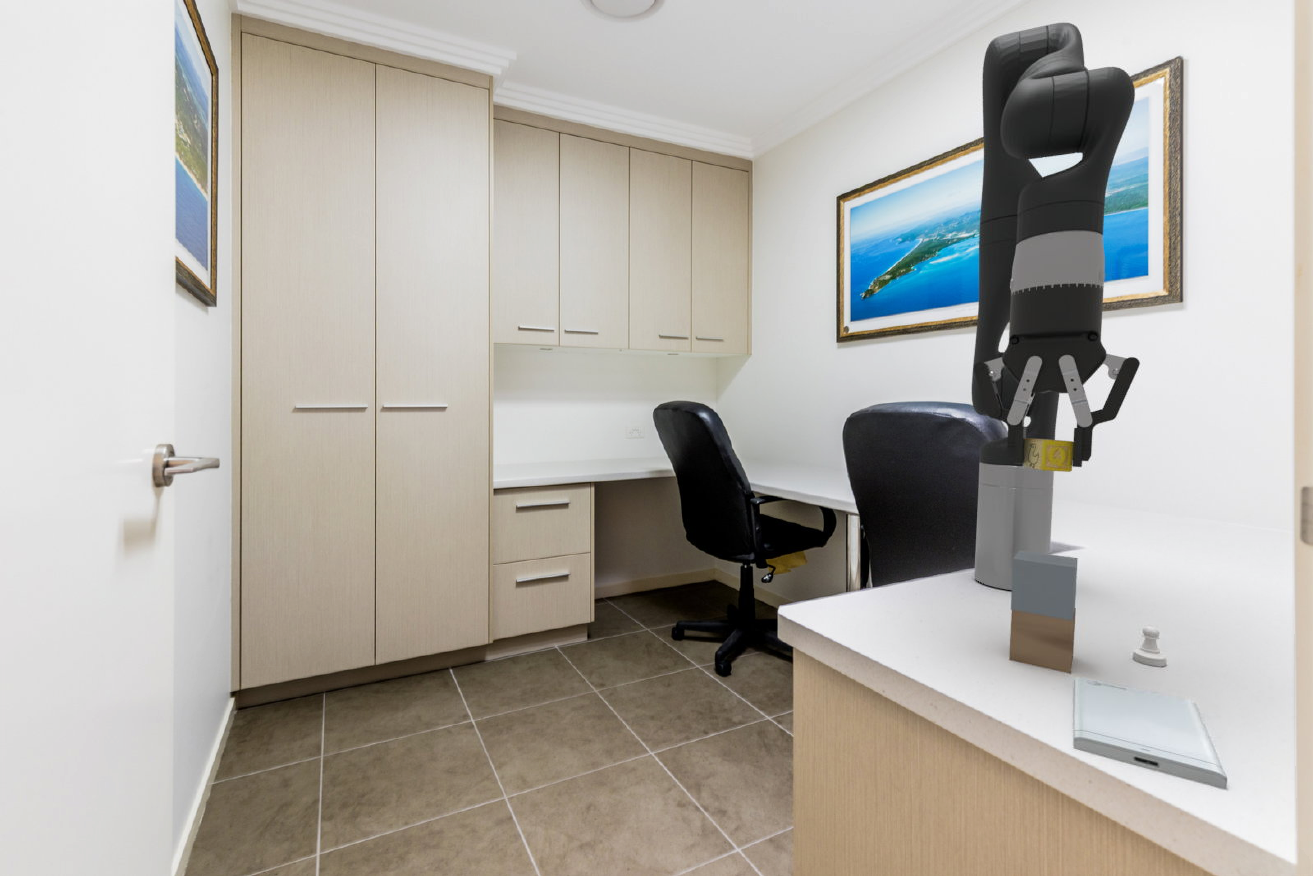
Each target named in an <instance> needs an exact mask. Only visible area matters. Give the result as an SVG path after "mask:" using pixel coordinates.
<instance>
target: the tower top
mask: <svg viewBox="0 0 1313 876" xmlns="http://www.w3.org/2000/svg"><path fill="white" fill-rule="evenodd" d="M1078 559H1079V558H1078V557H1072V556H1065V555H1057V554H1051V553H1050V554H1043V553H1035V552H1027V551H1020V550H1019V552H1018V553H1017V554H1016V556H1015V557H1014V558H1013V574H1012V590H1011V596H1010V597H1011V598H1010V610H1011V611H1012V610H1016V611H1022V612H1027V613H1032V614H1038V615H1043V616H1049V617H1054V618H1060V619H1065V620H1071V621H1073V616H1074V611H1075V608H1076V596H1077V595H1076V593H1077V579H1078V578H1077V577H1078V576H1077V574H1078Z"/></svg>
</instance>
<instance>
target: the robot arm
mask: <svg viewBox="0 0 1313 876" xmlns="http://www.w3.org/2000/svg"><path fill="white" fill-rule="evenodd" d="M1082 37H1083V36H1082V34H1081V31H1080V29H1079V28H1078V27H1077V26H1076V25H1075V24H1073V23H1071V22H1056V23H1051V24H1046V25H1042V26H1037V27H1032V28H1027V29H1024V30H1020V31H1014V32H1009V33H1006V34H1003V35H1000V36H997V37H995V38H994V39H992V40H991V41H990V42H989V43H988V45H987V47H986V51H985V53H984V58H983V67H982V87H981V88H982V124H983V125H982V126H983V127H982V128H983V170H982V171H983V173H982V188H981V189H982V191H981V203H980V216H979V235H978V237H979V238H978V280H979V281H978V310H977V323H976V333H975V344H974V355H973V364H972V377H971V402H972V403H971V404H972V406H973V409H974V411H975V413H977V414H978V415H979V416H985V417H989V418H990V419H995V420H998V421H1001V422H1002V423H1005V424H1006V426H1007V436H1005V437H1003V438H998V439H993V440H991V441H987V442H985V443H983V444H982V445H980V446H981V447H980V450H979V469H978V492H977V494H978V495H977V513H976V515H977V516H976V517H977V518H976V536H975V537H976V539H975V551H974V552H975V555H974V556H975V557H974V558H975V559H974V575H973V577H975V578H974V580H975V579H976V580H977V582H978V581H979V583H980V582H982V583H981V584H983V583H984V584H983V585H986V586H989V587H994V588H997V589H1002V590H1009V591H1012V574H1013V558H1014V557H1015V556H1016V554H1017V553H1018V552H1019V550H1020V551H1027V552H1035V553H1043V554H1050V555H1051V541H1052V539H1051V536H1052V519H1053V516H1052V515H1053V501H1054V500H1053V499H1054V475H1055V471H1044V470H1038V469H1033V468H1027V467H1023V461H1024V442H1025V439H1026V438H1032V439H1051V440H1056V430H1057V429H1056V426H1057V418H1058V409H1059V400H1060V394H1067V395H1068V398H1069V401H1070V403H1071V406H1072V410H1073V413H1074V416H1075V420H1076V427H1073V441H1072V442H1073V460H1072V468H1082V467H1083V462H1089V460H1090V459H1091V457H1092V451H1093V450H1092V448H1093V432H1094V431H1093V430H1094V428H1095V427H1096V426H1097V425H1099V424H1102V423H1107V422H1110V421H1111V422H1112V421H1113V420H1115V419H1116V418H1117V416H1118V415H1119V412H1120V410H1121V407H1122V405H1123V402H1124V401H1125V399H1126V396H1127V394H1128V392H1129V389H1130V387H1131V386H1132V383H1133V381H1134V379H1135V376H1136V375H1137V371H1138V370H1139V368H1140V365H1141V363H1140V360H1139V359H1138V358H1137V357H1134V356H1130V357H1122V356H1118V355H1113V354H1110V353H1107V350H1106V348H1105V347H1104V345H1103V343H1102V328H1103V327H1102V325H1103V324H1102V323H1103V309H1104V307H1103V306H1104V288H1105V285H1104V284H1105V278H1106V272H1105V270H1106V269H1105V267H1106V264H1105V262H1106V261H1105V259H1106V258H1105V249H1104V248H1105V247H1104V225H1105V223H1104V221H1105V206H1106V205H1105V203H1106V193H1107V188H1108V187H1107V185H1108V181H1109V176H1110V174H1111V169H1112V166H1113V163H1114V159H1115V155H1116V153H1117V150H1118V148H1119V146H1120V143H1121V139H1122V137H1123V135H1124V132H1125V129H1126V127H1127V124H1128V122H1129V119H1130V118H1131V117H1130V116H1131V114H1132V111H1133V109H1134V108H1133V107H1134V104H1135V97H1136V93H1135V92H1136V91H1135V85H1134V82H1133V79H1132V78H1131V76H1130V74H1129V73H1127V72H1126V71H1125V70H1124V69H1122V68H1120V67H1116V66H1105V67H1099V68H1094V69H1088V67H1086V65H1085V53H1084V52H1085V51H1084V44H1083V39H1082ZM1072 154H1073V155H1074V154H1082V155H1081V157H1082V158H1081V160H1080V161H1078V162H1077V163H1076V164H1074V165H1072V166H1070V167H1068V168H1065V169H1063V170H1060V171H1057V172H1054V173H1052V174H1047V175H1045V176H1042V175H1041V173H1040V172H1039V171H1038V169H1037V168H1036V167H1035V166H1034V165H1033V163H1032V162H1031V161H1030V160H1035V159H1042V158H1049V157H1058V156H1064V155H1072ZM1008 324H1009V328H1008V329H1009V330H1008V344H1007V346H1006V349H1005V350H1004V351H1002V352H1001V351H1000V350H999V348H1000V343H1001V339H1002V337H1003V334H1004V332H1005V330H1006V328H1007V326H1008ZM1102 365H1105V366H1106V367H1107V369H1108V371H1107V376H1108V377H1109V378H1110V379H1111V380H1114V382H1113V385H1112V387H1111V389H1110V391H1109V393H1108V396H1107V398H1106V399H1105V402H1104V405H1103V407H1102V408H1101V409H1098V410H1097V409H1096V410H1094V411H1091V407H1090V404H1089V402H1088V397H1087V395H1086V391H1085V387H1084V385H1085V384H1086V383H1087V382H1088V381H1089V379H1090V378H1091V377H1092V376H1093V375H1094V374H1095V373H1096V372H1097V371H1098V369H1100V368H1101V367H1102ZM1025 418H1030V422H1029V424H1028V425H1027V426H1025ZM976 580H975V581H976Z"/></svg>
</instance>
